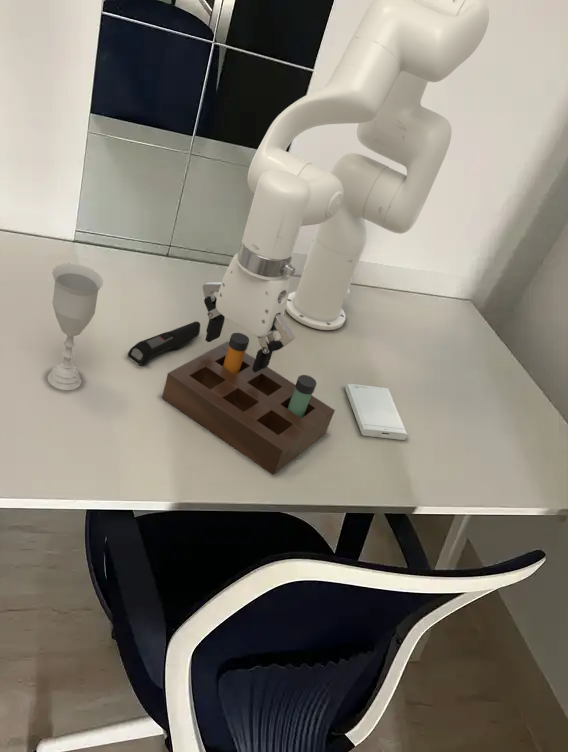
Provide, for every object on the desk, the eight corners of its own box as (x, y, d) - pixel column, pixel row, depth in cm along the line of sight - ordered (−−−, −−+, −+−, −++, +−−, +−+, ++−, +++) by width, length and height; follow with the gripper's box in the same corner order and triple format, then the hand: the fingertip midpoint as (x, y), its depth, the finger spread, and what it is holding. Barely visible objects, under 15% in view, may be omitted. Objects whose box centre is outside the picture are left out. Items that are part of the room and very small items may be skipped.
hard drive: (347, 382, 140) (364, 428, 131) (389, 388, 142) (409, 433, 133) (344, 390, 141) (361, 435, 132) (386, 395, 143) (405, 440, 134)
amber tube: (223, 380, 133) (238, 330, 127) (237, 389, 132) (253, 339, 126) (213, 386, 131) (227, 336, 124) (227, 395, 130) (242, 345, 124)
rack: (220, 365, 136) (227, 341, 133) (325, 433, 130) (335, 410, 126) (161, 398, 125) (167, 372, 122) (273, 475, 118) (282, 450, 115)
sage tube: (286, 421, 129) (304, 372, 123) (301, 431, 128) (320, 382, 122) (276, 428, 127) (294, 379, 121) (291, 438, 126) (310, 389, 120)
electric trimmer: (203, 341, 140) (207, 326, 138) (141, 368, 129) (145, 352, 127) (187, 330, 141) (191, 315, 139) (125, 356, 130) (128, 340, 128)
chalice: (97, 387, 122) (113, 285, 111) (60, 399, 118) (73, 295, 106) (68, 361, 125) (81, 259, 114) (31, 372, 121) (41, 268, 109)
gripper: (324, 279, 116) (290, 373, 127) (232, 226, 121) (207, 320, 132) (297, 293, 111) (264, 390, 122) (202, 236, 116) (179, 334, 127)
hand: (235, 353), depth 127 cm, fingers open, 9 cm apart
